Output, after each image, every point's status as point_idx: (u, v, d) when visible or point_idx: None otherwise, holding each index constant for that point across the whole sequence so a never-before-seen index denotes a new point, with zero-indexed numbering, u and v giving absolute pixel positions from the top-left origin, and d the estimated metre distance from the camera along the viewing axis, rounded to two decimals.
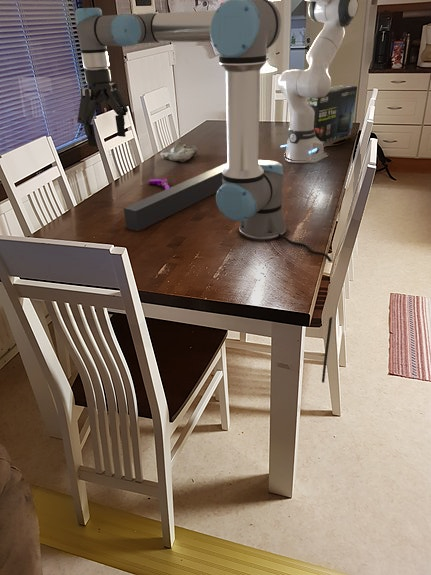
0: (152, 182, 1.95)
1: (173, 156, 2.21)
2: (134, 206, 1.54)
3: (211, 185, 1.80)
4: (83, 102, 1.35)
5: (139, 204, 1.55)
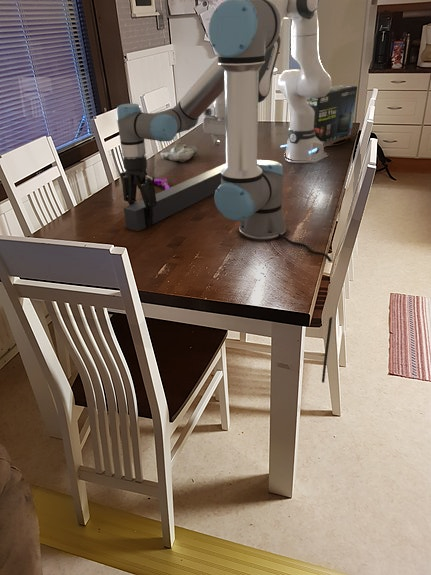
0: None
1: (173, 156, 2.21)
2: (134, 206, 1.54)
3: (211, 185, 1.80)
4: None
5: (139, 204, 1.55)
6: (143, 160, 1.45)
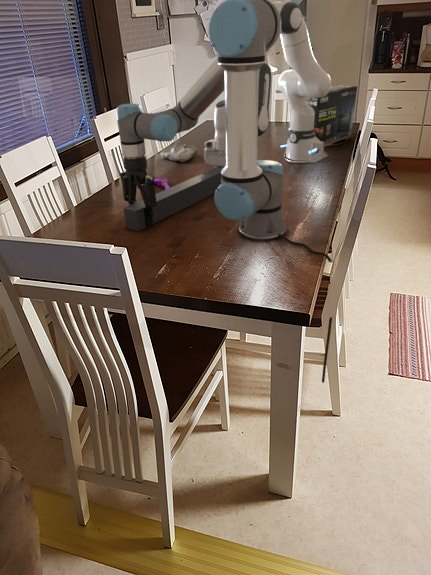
0: None
1: (173, 156, 2.21)
2: (134, 206, 1.54)
3: (211, 185, 1.80)
4: None
5: (139, 204, 1.55)
6: (143, 160, 1.45)
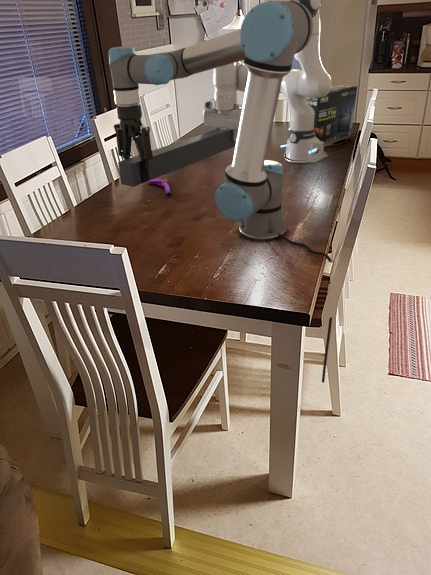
0: (152, 182, 1.95)
1: None
2: (129, 160, 1.45)
3: (211, 145, 1.72)
4: None
5: (134, 159, 1.47)
6: (138, 108, 1.37)
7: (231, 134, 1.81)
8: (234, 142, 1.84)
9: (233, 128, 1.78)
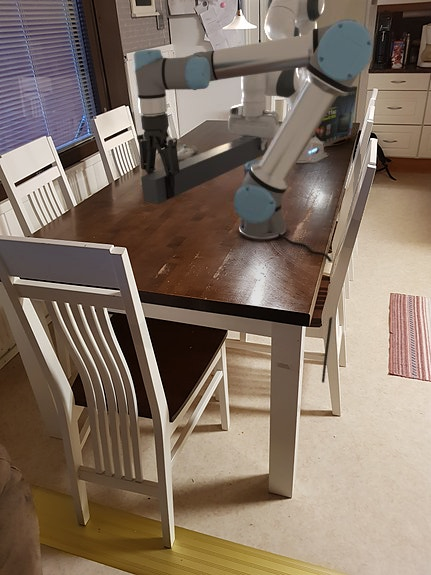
0: None
1: None
2: (153, 175, 1.32)
3: (238, 155, 1.58)
4: None
5: (158, 173, 1.33)
6: (164, 118, 1.23)
7: (259, 142, 1.67)
8: (261, 151, 1.70)
9: (261, 136, 1.64)
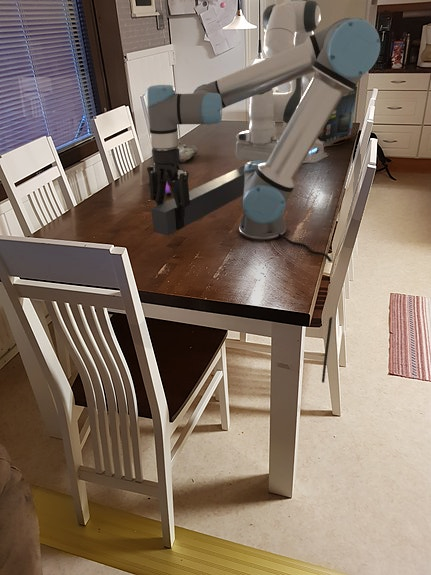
0: None
1: None
2: (163, 207, 1.32)
3: None
4: None
5: (168, 204, 1.34)
6: (176, 152, 1.24)
7: None
8: None
9: None
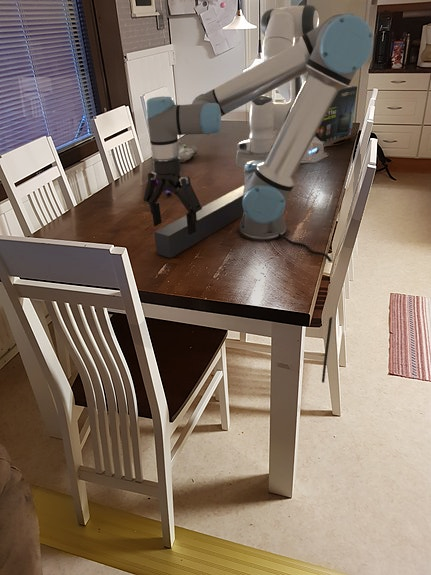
0: None
1: None
2: (166, 230, 1.36)
3: None
4: None
5: (171, 227, 1.38)
6: (177, 162, 1.25)
7: None
8: None
9: None
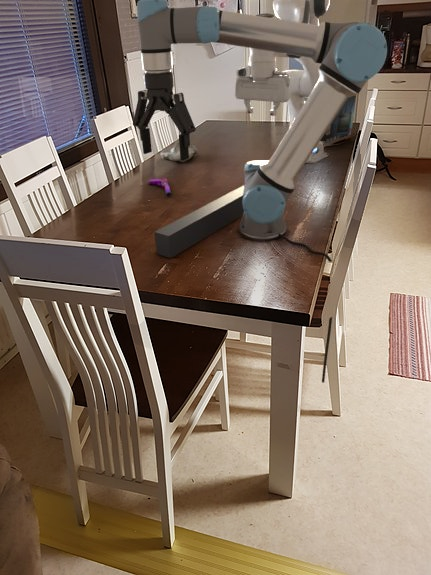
0: (152, 182, 1.95)
1: (173, 156, 2.21)
2: (166, 230, 1.36)
3: None
4: None
5: (171, 227, 1.38)
6: (170, 76, 1.14)
7: None
8: None
9: (270, 99, 1.53)
